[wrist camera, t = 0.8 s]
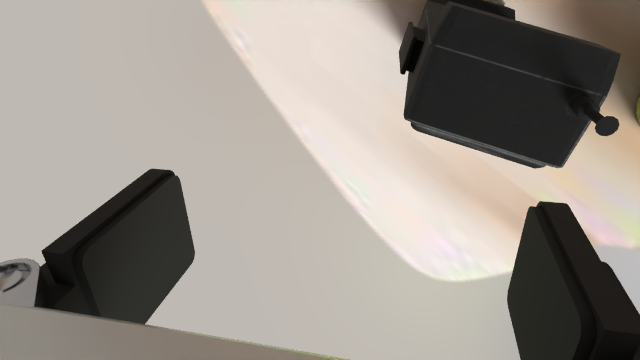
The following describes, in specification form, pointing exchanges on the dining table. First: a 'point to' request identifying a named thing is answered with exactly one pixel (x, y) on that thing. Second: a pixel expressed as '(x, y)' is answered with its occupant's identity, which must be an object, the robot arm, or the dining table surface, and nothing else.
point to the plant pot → (638, 110)
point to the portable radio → (503, 83)
